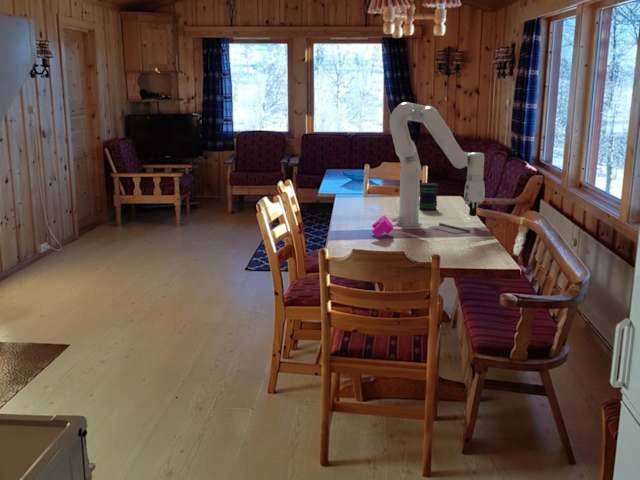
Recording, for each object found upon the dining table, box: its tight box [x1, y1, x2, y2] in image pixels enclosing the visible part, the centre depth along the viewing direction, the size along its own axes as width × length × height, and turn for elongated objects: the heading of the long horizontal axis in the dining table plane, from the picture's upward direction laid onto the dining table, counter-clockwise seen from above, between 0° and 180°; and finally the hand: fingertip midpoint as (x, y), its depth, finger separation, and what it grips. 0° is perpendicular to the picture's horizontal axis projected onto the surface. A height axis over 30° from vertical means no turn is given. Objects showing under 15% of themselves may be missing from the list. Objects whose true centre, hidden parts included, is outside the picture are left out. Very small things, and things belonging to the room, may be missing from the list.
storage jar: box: [419, 182, 439, 212], centre depth 359 cm, size 10×10×15 cm
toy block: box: [371, 214, 394, 238], centre depth 295 cm, size 15×6×8 cm
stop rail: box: [438, 222, 471, 234], centre depth 309 cm, size 1×20×1 cm, turn 32°
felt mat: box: [428, 224, 467, 235], centre depth 307 cm, size 7×18×1 cm, turn 32°
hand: (472, 215), depth 314 cm, fingers closed
